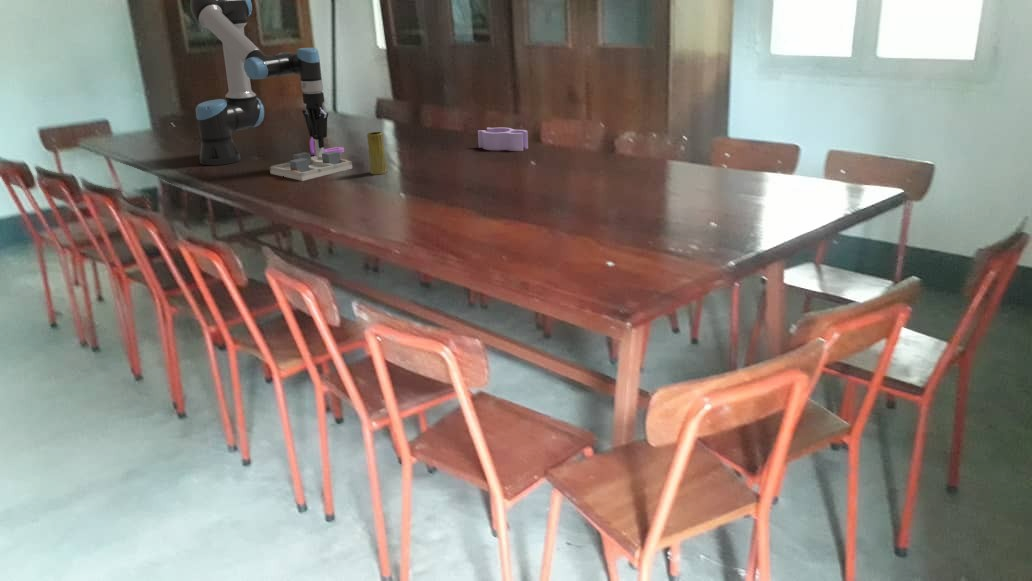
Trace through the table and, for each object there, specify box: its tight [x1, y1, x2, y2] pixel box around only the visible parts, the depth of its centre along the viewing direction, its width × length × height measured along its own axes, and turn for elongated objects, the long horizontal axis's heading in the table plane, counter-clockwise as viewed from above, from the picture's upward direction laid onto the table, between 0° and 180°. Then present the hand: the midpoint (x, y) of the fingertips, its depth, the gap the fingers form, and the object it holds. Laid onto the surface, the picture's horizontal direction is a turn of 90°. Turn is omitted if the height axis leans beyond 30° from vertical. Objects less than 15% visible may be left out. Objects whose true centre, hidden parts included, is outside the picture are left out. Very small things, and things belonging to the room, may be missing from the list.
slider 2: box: [288, 158, 309, 172], centre depth 287 cm, size 4×5×4 cm
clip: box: [477, 127, 529, 152], centre depth 320 cm, size 20×12×7 cm, turn 59°
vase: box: [366, 131, 388, 175], centre depth 286 cm, size 6×6×14 cm
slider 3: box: [322, 151, 341, 164], centre depth 297 cm, size 4×5×4 cm
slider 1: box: [292, 151, 312, 165], centre depth 297 cm, size 4×5×4 cm
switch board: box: [269, 156, 353, 182], centre depth 295 cm, size 20×22×3 cm
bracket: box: [308, 136, 345, 157], centre depth 323 cm, size 13×6×7 cm, turn 125°
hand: (320, 155), depth 301 cm, fingers closed
